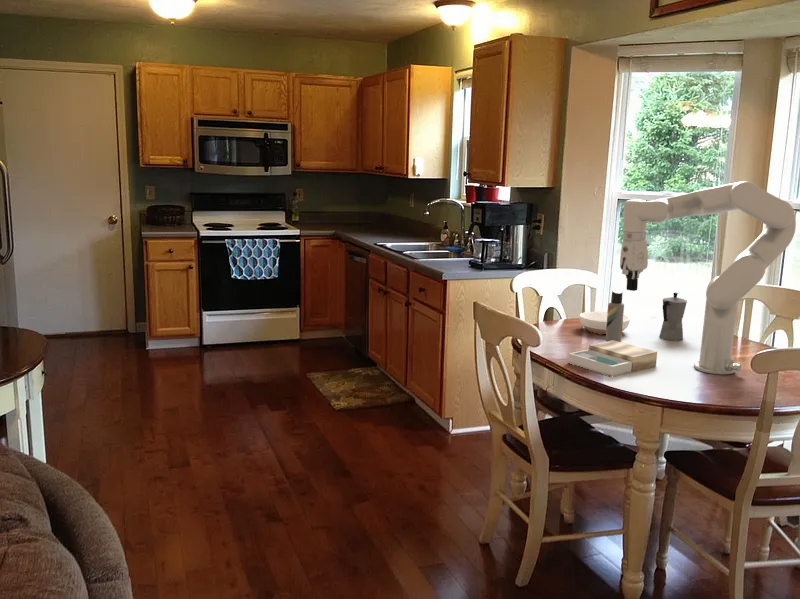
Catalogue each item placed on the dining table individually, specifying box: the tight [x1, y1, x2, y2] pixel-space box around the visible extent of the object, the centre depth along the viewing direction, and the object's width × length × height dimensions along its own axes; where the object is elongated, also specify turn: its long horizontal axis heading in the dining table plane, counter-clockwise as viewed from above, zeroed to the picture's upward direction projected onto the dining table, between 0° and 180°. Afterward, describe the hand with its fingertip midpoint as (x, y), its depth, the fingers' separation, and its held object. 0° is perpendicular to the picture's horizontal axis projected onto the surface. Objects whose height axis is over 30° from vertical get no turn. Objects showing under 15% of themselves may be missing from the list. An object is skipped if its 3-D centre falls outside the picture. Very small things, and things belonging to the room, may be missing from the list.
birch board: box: [588, 340, 658, 373], centre depth 250 cm, size 18×13×5 cm
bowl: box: [579, 311, 631, 335], centre depth 295 cm, size 20×20×6 cm
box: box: [567, 349, 632, 378], centre depth 243 cm, size 18×10×4 cm, turn 36°
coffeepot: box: [659, 292, 688, 341], centre depth 285 cm, size 15×9×18 cm, turn 134°
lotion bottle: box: [604, 289, 625, 342], centre depth 275 cm, size 6×6×20 cm
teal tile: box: [596, 356, 618, 365], centre depth 239 cm, size 5×5×2 cm
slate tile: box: [576, 353, 595, 360], centre depth 246 cm, size 5×5×2 cm
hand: (631, 290), depth 252 cm, fingers closed
